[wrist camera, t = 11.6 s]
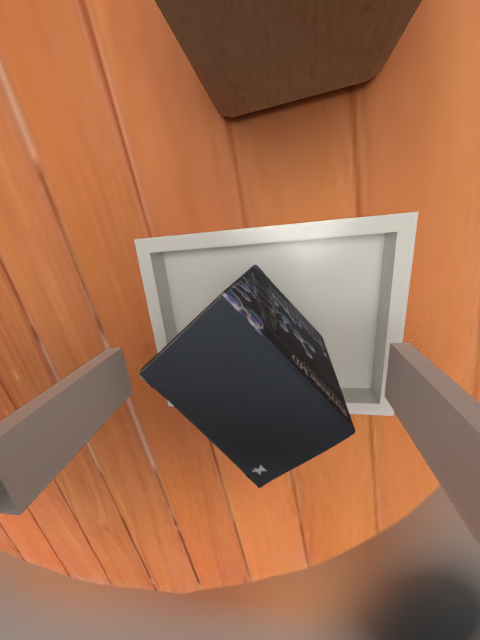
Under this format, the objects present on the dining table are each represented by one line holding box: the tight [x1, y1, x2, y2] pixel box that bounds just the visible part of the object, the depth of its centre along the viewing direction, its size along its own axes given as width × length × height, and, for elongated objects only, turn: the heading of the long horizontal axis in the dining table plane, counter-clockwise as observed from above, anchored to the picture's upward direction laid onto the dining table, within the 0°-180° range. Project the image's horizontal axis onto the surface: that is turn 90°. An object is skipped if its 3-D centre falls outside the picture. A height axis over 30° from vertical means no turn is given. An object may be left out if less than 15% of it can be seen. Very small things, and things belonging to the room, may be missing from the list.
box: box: [140, 265, 355, 488], centre depth 15 cm, size 8×6×11 cm
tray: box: [134, 212, 418, 416], centre depth 20 cm, size 18×14×3 cm
